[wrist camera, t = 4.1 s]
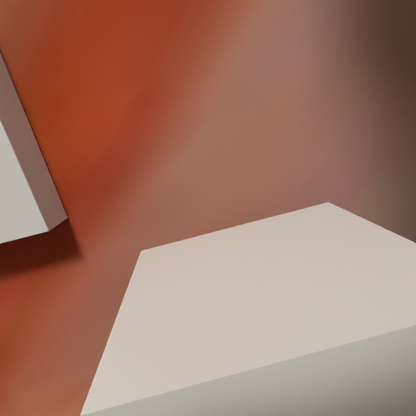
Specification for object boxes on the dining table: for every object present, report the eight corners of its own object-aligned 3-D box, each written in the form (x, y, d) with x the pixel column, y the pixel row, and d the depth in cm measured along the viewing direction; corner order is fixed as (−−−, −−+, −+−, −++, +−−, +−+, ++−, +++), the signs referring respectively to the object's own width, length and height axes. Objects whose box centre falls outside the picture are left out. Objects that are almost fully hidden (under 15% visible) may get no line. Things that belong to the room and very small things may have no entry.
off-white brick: (328, 202, 8) (526, 294, 3) (346, 352, 10) (496, 555, 5) (141, 250, 8) (80, 415, 3) (190, 394, 10) (196, 642, 5)
